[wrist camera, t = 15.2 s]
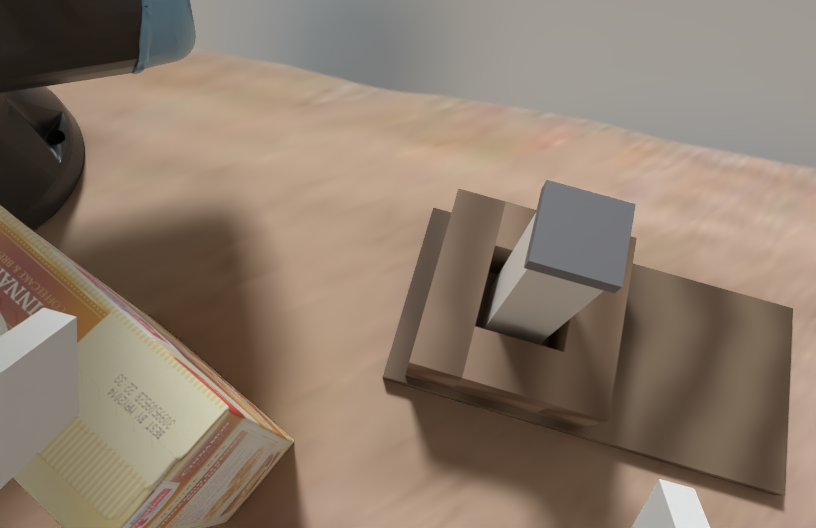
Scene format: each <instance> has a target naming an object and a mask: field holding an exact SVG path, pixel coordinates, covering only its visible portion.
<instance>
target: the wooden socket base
mask: <svg viewBox="0 0 816 528" xmlns="http://www.w3.org/2000/svg"><path fill="white" fill-rule="evenodd" d="M536 211H537V210H534V209H530V208H526V207H523V206H519V205H516V204H512V203H508V202H505V201H501V200H498V199H494V198H490V197H487V196H483V195H480V194H476V193H472V192H469V191H465V190H462V189H458V192H457V196H456V199H455V203H454V206H453V210H452V213H450V212H447V211H443V210H440V209H436V208H433V211H432V215H431V218H430V221H429V225H428V228H427V231H426V235H425V238H424V241H423V245H422V248H421V251H420V255H419V258H418V261H417V265H416V268H415V271H414V275H413V278H412V281H411V285H410V288H409V291H408V295H407V298H406V301H405V305H404V308H403V312H402V315H401V318H400V322H399V325H398V328H397V332H396V335H395V338H394V342H393V345H392V348H391V352H390V355H389V358H388V362H387V365H386V368H385V372H384V375H383V379H386V380H389V381H393V382H396V383H399V384H403V385H406V386H409V387H413V388H416V389H420V390H423V391H426V392H430V393H433V394H436V395H440V396H443V397H447V398H450V399H453V400H457V401H460V402H463V403H467V404H470V405H474V406H477V407H480V408H484V409H487V410H490V411H494V412H497V413H501V414H504V415H507V416H511V417H514V418H517V419H521V420H524V421H528V422H531V423H534V424H538V425H541V426H544V427H548V428H551V429H555V430H558V431H561V432H565V433H568V434H571V435H575V436H578V437H582V438H585V439H588V440H592V441H595V442H598V443H602V444H605V445H609V446H612V447H615V448H619V449H622V450H625V451H629V452H632V453H636V454H639V455H642V456H646V457H649V458H652V459H656V460H659V461H663V462H666V463H669V464H673V465H676V466H679V467H683V468H686V469H690V470H693V471H696V472H700V473H703V474H706V475H710V476H713V477H717V478H720V479H723V480H727V481H730V482H733V483H737V484H740V485H744V486H747V487H750V488H754V489H757V490H760V491H764V492H767V493H771V494H774V495H785V479H786V456H787V433H788V410H789V387H790V364H791V340H792V317H793V308H789V307H785V306H782V305H778V304H775V303H771V302H768V301H764V300H761V299H757V298H753V297H750V296H746V295H743V294H739V293H736V292H732V291H728V290H725V289H721V288H718V287H714V286H711V285H707V284H703V283H700V282H696V281H693V280H689V279H686V278H682V277H679V276H675V275H671V274H668V273H664V272H661V271H657V270H654V269H650V268H646V267H643V266H639V265H636V264H633V258H634V251H635V245H636V238H634V237H631V236H630V242H629V248H628V255H627V261H626V267H625V274H624V280H623V287H622V288H621V289H619V290H618V291H617V292H616V293H610V292H607V291H603V292H602V293H601V294H599V295H598V296H597V297H596V298H595V299H593V300H592V301H591V302H590V303H589V304H587V305H586V306H585V307H584V308H582V309H581V310H580V311H579V312H578V313H576V314H575V315H574V316H573V317H572V318H570V319H569V320H568V321H567V322H566V323H564V324H563V325H562V326H561V327H560V328H558V329H557V330H556V331H555V332H553V333H552V334H551V335H550V336H549V337H547V338H546V339H545V340H544V341H543V342H541V343H540V344H539V345H538V344H534V343H531V342H527V341H524V340H521V339H517V338H514V337H510V336H507V335H503V334H500V333H496V332H493V331H489V330H486V329H483V328H481V327H482V323H483V319H484V315H485V311H486V307H487V303H488V299H489V295H490V291H491V287H492V285H493V283H494V281H495V280H496V278H497V276H498V275H499V273H500V271H501V270H502V268H503V266H504V265H505V263H506V261H507V260H508V258H509V256H510V255H511V253H512V251H513V250H514V248H515V246H516V245H517V243H518V241H519V240H520V238H521V236H522V235H523V233H524V231H525V230H526V228H527V226H528V225H529V223H530V221H531V220H532V218H533V216H534V215H535V213H536Z"/></svg>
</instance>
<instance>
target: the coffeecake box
mask: <svg viewBox="0 0 816 528" xmlns="http://www.w3.org/2000/svg"><path fill="white" fill-rule="evenodd" d="M42 308H47V309H50V310H54V311H58V312H61V313H65V314H68V315H72V316H76V317H77V356H78V396H79V413H78V414H77V415H76V416H75V417H74V418H73V419H72V420H71V421H70V422H69V423H68V424H67V425H66V426H65V427H64V428H63V429H62V430H61V431H60V432H59V433H58V434H57V435H56V436H55V437H53V438H52V439H51V440H50V441H49V442H48V443H47V444H46V445H45V446H44V447H43V448H42V449H41V450H40V451H39V452H38V453H37V454H36V455H35V456H34V457H33V458H32V459H31V460H30V461H29V462H28V463H27V464H26V465H25V466H24V467H23V468H22V469H21V470H20V471H19V472H18V473H17V474H16V475H14V476H13V478H14V479H15V480H16V481H17V482H18V483H19V484H20V485H21V486H22V487H23V488H24V489H25V490H26V491H27V492H28V493H29V494H30V495H31V496H32V497H33V498H34V499H35V500H36V501H37V502H38V503H39V504H40V505H41V506H42V507H43V508H44V509H45V510H46V511H47V512H48V513H49V514H50V515H51V516H52V517H53V518H54V519H55V520H56V521H57V522H58V523H59V524H60V525H61V526H62V527H63V528H207V527H210V526H214V525H218V524H222V523H226V522H227V521H228V520H229V519H230V517H231V516H232V515H233V514H234V513H235V512H236V511H237V509H238V508H239V507H240V506H241V505H242V504H243V502H244V501H245V500H246V499H247V498H248V497H249V495H250V494H251V493H252V492H253V491H254V490H255V488H256V487H257V486H258V485H259V484H260V483H261V481H262V480H263V479H264V478H265V477H266V475H267V474H268V473H269V472H270V470H271V469H272V468H273V467H274V466H275V464H276V463H277V462H278V461H279V459H280V458H281V457H282V456H283V455H284V453H285V452H286V451H287V450H288V449H289V447H290V446H291V445H292V444H293V443H294V440H293V439H292V438H291V437H290V436H289V435H288V434H287V433H285V432H284V431H283V430H282V429H281V428H280V427H279V426H278V425H276V424H275V423H274V422H273V421H272V420H271V419H270V418H269V417H268V416H266V415H265V414H264V413H263V412H262V411H261V410H259V409H258V408H257V407H256V406H255V405H254V404H252V403H251V402H250V401H249V400H248V399H247V398H245V397H244V396H243V395H242V394H241V393H240V392H239V391H237V390H236V389H235V388H234V387H233V386H232V385H231V384H229V383H228V382H227V381H226V380H225V379H224V378H223V377H221V376H220V375H219V374H218V373H217V372H216V371H214V370H213V369H212V368H211V367H210V366H208V365H207V364H206V363H205V362H204V361H203V360H201V359H200V358H199V357H198V356H197V355H196V354H194V353H193V352H192V351H191V350H190V349H188V348H187V347H186V346H185V345H184V344H183V343H181V342H180V341H179V340H178V339H177V338H175V337H174V336H173V335H172V334H170V333H169V332H168V331H167V330H165V329H164V328H163V327H162V326H161V325H159V324H158V323H157V322H156V321H154V320H153V319H152V318H151V317H150V316H148V315H147V314H145V313H144V312H142V311H141V310H139V309H138V308H137V307H135V306H134V305H133V304H131V303H130V302H128V301H127V300H126V299H124V298H123V297H122V296H120V295H119V294H117V293H116V292H115V291H113V290H112V289H111V288H109V287H108V286H107V285H105V284H104V283H103V282H101V281H100V280H98V279H97V278H96V277H94V276H93V275H92V274H90V273H89V272H88V271H86V270H85V269H84V268H82V267H81V266H80V265H78V264H77V263H76V262H74V261H73V260H72V259H70V258H69V257H67V256H66V255H65V254H63V253H62V252H61V251H59V250H58V249H57V248H55V247H54V246H53V245H51V244H50V243H49V242H47V241H46V240H45V239H43V238H42V237H41V236H39V235H38V234H37V233H35V232H34V231H32V230H31V229H30V228H28V227H27V226H26V225H24V224H23V223H22V222H21V221H19V220H18V219H17V218H15V217H14V216H13V215H12V214H11V213H9V212H8V211H7V210H6V209H4V208H3V207H2V206H1V205H0V336H2V335H3V334H5V333H6V332H8V331H9V330H11V329H12V328H14V327H15V326H17V325H18V324H20V323H21V322H23V321H24V320H26V319H27V318H29V317H30V316H32V315H33V314H35V313H36V312H38V311H39V310H41V309H42Z"/></svg>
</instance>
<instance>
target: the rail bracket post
mask: <svg viewBox="0 0 816 528" xmlns="http://www.w3.org/2000/svg"><path fill="white" fill-rule="evenodd" d="M634 210H635V204H633V203H629V202H625V201H622V200H618V199H614V198H611V197H607V196H603V195H600V194H596V193H593V192H589V191H585V190H582V189H578V188H574V187H571V186H567V185H563V184H560V183H556V182H553V181H549V180H547V181H546V182H545V184H544V186H543V187H542V189H541V194H540V198H539V203H538V207H537V211H536V213H535V215H534V216H533V218H532V220H531V221H530V223H529V225H528V226H527V228H526V230H525V231H524V233H523V235H522V236H521V238H520V240H519V241H518V243H517V245H516V246H515V248H514V250H513V251H512V253H511V255H510V256H509V258H508V260H507V261H506V263H505V265H504V266H503V268H502V270H501V271H500V273H499V275H498V276H497V278H496V280H495V281H494V283H493V285H492V287H491V291H490V295H489V299H488V303H487V307H486V311H485V315H484V319H483V323H482V327H481V328H483V329H486V330H489V331H493V332H496V333H500V334H503V335H507V336H510V337H514V338H517V339H521V340H524V341H527V342H531V343H534V344H538V345H539V344H540V343H541V342H543V341H544V340H545V339H546V338H547V337H549V336H550V335H551V334H552V333H553V332H555V331H556V330H557V329H558V328H560V327H561V326H562V325H563V324H564V323H566V322H567V321H568V320H569V319H570V318H572V317H573V316H574V315H575V314H576V313H578V312H579V311H580V310H581V309H582V308H584V307H585V306H586V305H587V304H589V303H590V302H591V301H592V300H593V299H595V298H596V297H597V296H598V295H599V294H601V293H602V292H603V291H607V292H610V293H616V292H617V291H618V290H619V289H621V288H622V287H623V280H624V274H625V267H626V261H627V255H628V248H629V242H630V236H631V229H632V223H633V217H634Z"/></svg>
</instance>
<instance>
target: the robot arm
mask: <svg viewBox="0 0 816 528" xmlns="http://www.w3.org/2000/svg"><path fill="white" fill-rule="evenodd" d="M195 38H196V34H195V26H194V20H193V16H192V10H191V4H190V0H0V205H1V206H2V207H3V208H4V209H6V210H7V211H8V212H9V213H11V214H12V215H13V216H14V217H15V218H17V219H18V220H19V221H21V222H22V223H23V224H24V225H26V226H27V227H28V228H30V229H31V230H34V229H36V228H37V227H38V226H40V225H41V224H43V223H44V222H45V221H46V220H48V219H49V218H50V217H51V216H52V215H53V214H54V213H55V212H56V211H57V210H58V209H59V208H60V207H61V206H62V205H63V203H64V202H65V201H66V200H67V198H68V197H69V195H70V194H71V192H72V190H73V189H74V187H75V185H76V183H77V181H78V178H79V176H80V173H81V169H82V165H83V158H84V143H83V138H82V134H81V131H80V128H79V126H78V124H77V122H76V120H75V118H74V117H73V116H72V114H71V113H70V112H69V110H68V109H67V108H66V107H65V106H64V104H63V103H62V102H61V101H60V100H59V99H58V97H57V96H56V95H55V94H54V93H53V92H51V91H50V90H49V89H48V88H47V87H45V86H50V85H56V84H63V83H69V82H76V81H82V80H89V79H95V78H102V77H108V76H115V75H121V74H128V73H133V74H136V73H140V72H142V71H143V70H144V69H145V68H150V67H154V66H158V65H162V64H167V63H171V62H175V61H178V60H181V59H183V58H185V57H186V56H187V55H188V54H189V53H190V52H191V50H192V49H193V47H194V44H195ZM78 413H79V396H78V356H77V317H76V316H72V315H68V314H65V313H61V312H58V311H54V310H50V309H47V308H42V309H41V310H39V311H38V312H36V313H35V314H33V315H32V316H30V317H29V318H27V319H26V320H24V321H23V322H21V323H20V324H18V325H17V326H15V327H14V328H12V329H11V330H9V331H8V332H6V333H5V334H3V335H2V336H0V489H1V488H2V487H3V486H4V485H5V484H6V483H7V482H8V481H9V480H10V479H11V478H12V477H13V476H14V475H16V474H17V473H18V472H19V471H20V470H21V469H22V468H23V467H24V466H25V465H26V464H27V463H28V462H29V461H30V460H31V459H32V458H33V457H34V456H35V455H36V454H37V453H38V452H39V451H40V450H41V449H42V448H43V447H44V446H45V445H46V444H47V443H48V442H49V441H50V440H51V439H52V438H53V437H55V436H56V435H57V434H58V433H59V432H60V431H61V430H62V429H63V428H64V427H65V426H66V425H67V424H68V423H69V422H70V421H71V420H72V419H73V418H74V417H75V416H76V415H77V414H78ZM631 528H710V526H709V524H708V521H707V519H706V516H705V514H704V511H703V509H702V507H701V504H700V502H699V499H698V497H697V494H696V492H695V489H693V488H690V487H686V486H683V485H679V484H675V483H672V482H668V481H665V480H661V479H659V480H658V482H657V483H656V485H655V487H654V489H653V490H652V492H651V494H650V496H649V497H648V499H647V501H646V503H645V505H644V506H643V508H642V510H641V512H640V513H639V515H638V517H637V519H636V520H635V522H634V524H633V526H632V527H631Z"/></svg>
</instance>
